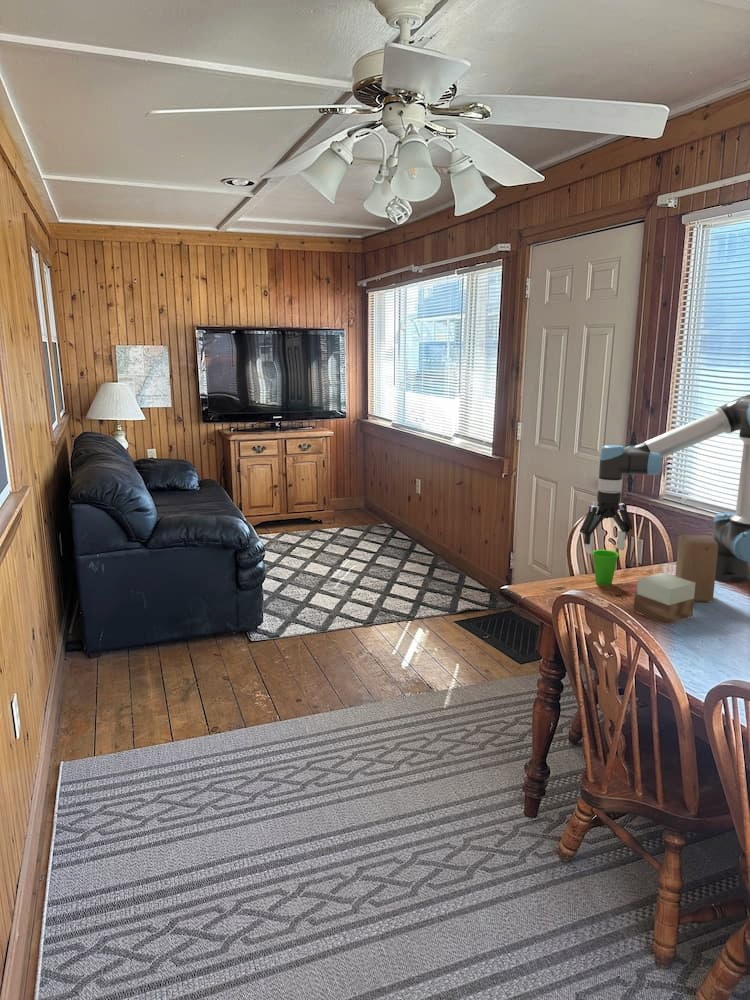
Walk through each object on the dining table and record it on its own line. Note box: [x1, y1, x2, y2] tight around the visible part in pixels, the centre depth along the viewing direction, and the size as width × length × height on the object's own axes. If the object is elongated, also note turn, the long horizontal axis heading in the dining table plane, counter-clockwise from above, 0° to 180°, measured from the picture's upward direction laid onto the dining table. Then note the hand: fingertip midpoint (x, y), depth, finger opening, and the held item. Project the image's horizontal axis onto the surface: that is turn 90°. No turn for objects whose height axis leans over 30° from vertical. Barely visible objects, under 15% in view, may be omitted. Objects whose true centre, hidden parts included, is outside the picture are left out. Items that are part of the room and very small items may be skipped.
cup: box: [591, 549, 620, 587], centre depth 235 cm, size 9×9×11 cm
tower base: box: [633, 593, 695, 625], centre depth 208 cm, size 12×12×6 cm
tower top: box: [636, 572, 695, 605], centre depth 206 cm, size 12×12×5 cm
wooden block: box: [674, 534, 718, 603], centre depth 220 cm, size 10×10×20 cm
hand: (604, 551), depth 234 cm, fingers open, 13 cm apart
